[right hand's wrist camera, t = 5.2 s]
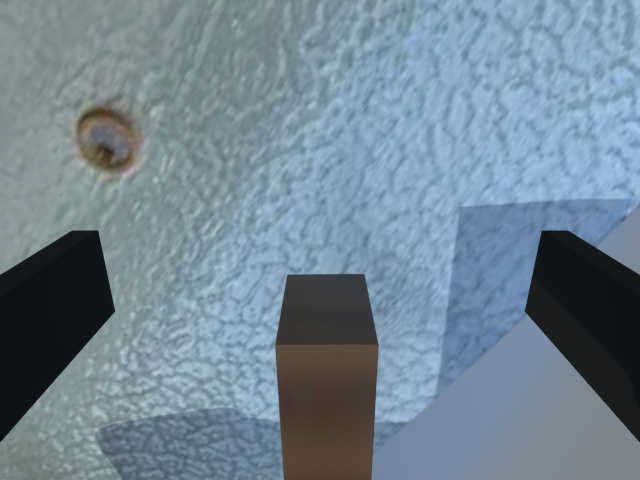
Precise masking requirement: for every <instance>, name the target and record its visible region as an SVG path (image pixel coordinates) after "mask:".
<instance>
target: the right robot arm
mask: <svg viewBox="0 0 640 480" xmlns="http://www.w3.org/2000/svg"><path fill="white" fill-rule="evenodd" d="M114 312H115V309H114V304H113V299H112V294H111V289H110V285H109V280H108V275H107V270H106V266H105V261H104V256H103V251H102V247H101V242H100V237H99V232H98V231H71V232H69V233H67V234H66V235H64V236H63V237H61V238H59V239H58V240H56V241H55V242H53V243H51V244H50V245H48V246H46V247H45V248H43V249H42V250H40V251H38V252H37V253H35V254H33V255H32V256H30V257H29V258H27V259H25V260H24V261H22V262H20V263H19V264H17V265H16V266H14V267H12V268H11V269H9V270H8V271H6V272H4V273H3V274H1V275H0V442H1V441H2V440H3V439H4V438H5V436H6V435H7V434H8V433H9V432H10V431H11V430H12V428H13V427H14V426H15V425H16V424H17V423H18V422H19V420H20V419H21V418H22V417H23V416H24V415H25V414H26V412H27V411H28V410H29V409H30V408H31V407H32V406H33V404H34V403H35V402H36V401H37V400H38V399H39V398H40V396H41V395H42V394H43V393H44V392H45V391H46V390H47V388H48V387H49V386H50V385H51V384H52V383H53V382H54V380H55V379H56V378H57V377H58V376H59V375H60V374H61V373H62V371H63V370H64V369H65V368H66V367H67V366H68V365H69V363H70V362H71V361H72V360H73V359H74V358H75V357H76V355H77V354H78V353H79V352H80V351H81V350H82V349H83V347H84V346H85V345H86V344H87V343H88V342H89V341H90V339H91V338H92V337H93V336H94V335H95V334H96V333H97V331H98V330H99V329H100V328H101V327H102V326H103V325H104V323H105V322H106V321H107V320H108V319H109V318H110V317H111V315H112V314H113V313H114ZM525 312H526V313H527V314H528V315H529V317H530V318H531V319H532V320H533V321H534V322H535V323H536V325H537V326H538V327H539V328H540V329H541V330H542V331H543V333H544V334H545V335H546V336H547V337H548V338H549V339H550V341H551V342H552V343H553V344H554V345H555V346H556V347H557V349H558V350H559V351H560V352H561V353H562V354H563V355H564V357H565V358H566V359H567V360H568V361H569V362H570V363H571V365H572V366H573V367H574V368H575V369H576V370H577V371H578V373H579V374H580V375H581V376H582V377H583V378H584V379H585V380H586V382H587V383H588V384H589V385H590V386H591V387H592V388H593V390H594V391H595V392H596V393H597V394H598V395H599V396H600V398H601V399H602V400H603V401H604V402H605V403H606V404H607V406H608V407H609V408H610V409H611V410H612V411H613V412H614V414H615V415H616V416H617V417H618V418H619V419H620V420H621V422H622V423H623V424H624V425H625V426H626V427H627V428H628V430H629V431H630V432H631V433H632V434H633V435H634V436H635V438H636V439H637V440H638V441H639V442H640V275H639V274H637V273H636V272H634V271H632V270H631V269H629V268H628V267H626V266H624V265H623V264H621V263H620V262H618V261H616V260H615V259H613V258H611V257H610V256H608V255H607V254H605V253H603V252H602V251H600V250H598V249H597V248H595V247H594V246H592V245H590V244H589V243H587V242H585V241H584V240H582V239H581V238H579V237H577V236H576V235H574V234H573V233H571V232H569V231H542V232H541V237H540V242H539V247H538V251H537V256H536V261H535V266H534V270H533V275H532V280H531V285H530V289H529V294H528V299H527V304H526V309H525Z"/></svg>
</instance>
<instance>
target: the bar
mask: <svg viewBox="0 0 640 480" xmlns="http://www.w3.org/2000/svg"><path fill="white" fill-rule="evenodd" d="M275 349H276V364H277V380H278V395H279V410H280V426H281V441H282V457H283V472H284V480H371V474H372V456H373V437H374V419H375V400H376V381H377V363H378V340H377V335H376V330H375V325H374V320H373V315H372V310H371V305H370V300H369V295H368V290H367V285H366V280H365V275H364V274H311V275H287V280H286V285H285V291H284V297H283V303H282V309H281V315H280V321H279V326H278V332H277V338H276V344H275Z"/></svg>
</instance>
